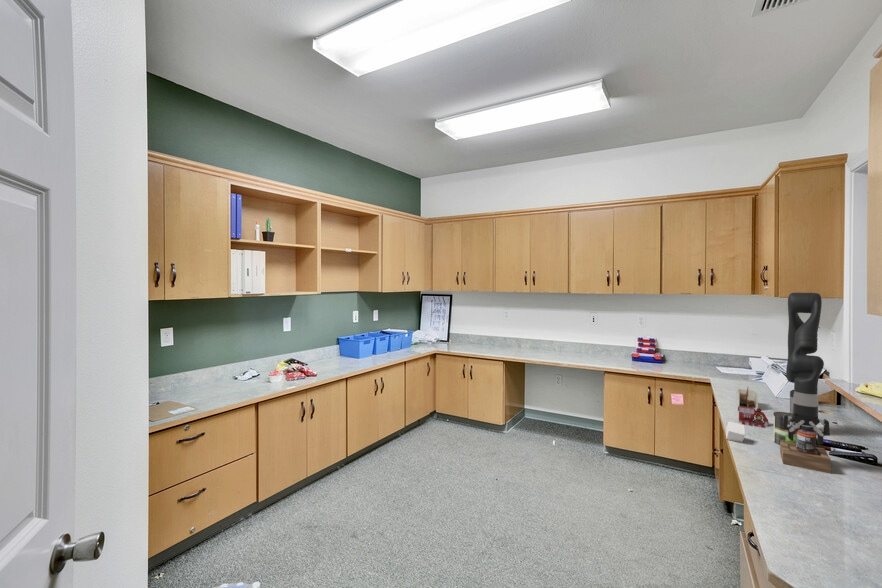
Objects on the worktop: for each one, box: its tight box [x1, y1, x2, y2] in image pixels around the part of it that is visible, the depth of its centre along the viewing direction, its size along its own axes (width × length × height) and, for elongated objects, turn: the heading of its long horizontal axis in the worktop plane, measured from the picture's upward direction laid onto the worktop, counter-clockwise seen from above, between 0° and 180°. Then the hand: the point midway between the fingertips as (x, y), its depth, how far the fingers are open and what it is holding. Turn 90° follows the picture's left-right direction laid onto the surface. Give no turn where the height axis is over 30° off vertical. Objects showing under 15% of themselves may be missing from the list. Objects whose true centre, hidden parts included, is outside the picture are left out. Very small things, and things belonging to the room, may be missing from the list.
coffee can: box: [772, 411, 800, 446], centre depth 179 cm, size 10×10×14 cm
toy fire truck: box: [737, 405, 769, 429], centre depth 203 cm, size 7×12×10 cm, turn 56°
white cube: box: [725, 421, 746, 443], centre depth 184 cm, size 6×6×6 cm
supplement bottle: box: [796, 424, 817, 454], centre depth 161 cm, size 6×6×11 cm
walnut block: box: [779, 441, 832, 474], centre depth 162 cm, size 14×14×6 cm
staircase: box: [735, 387, 759, 410], centre depth 230 cm, size 9×11×17 cm
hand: (805, 442), depth 161 cm, fingers open, 8 cm apart
